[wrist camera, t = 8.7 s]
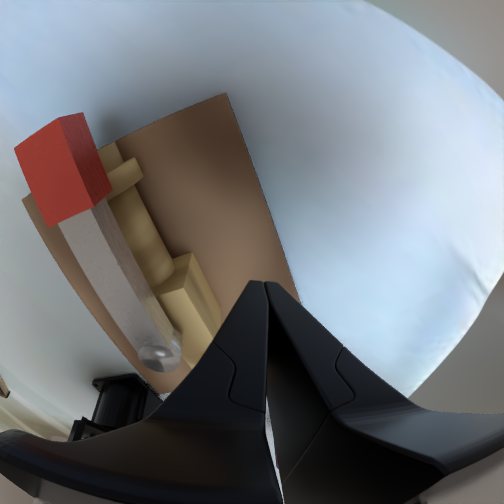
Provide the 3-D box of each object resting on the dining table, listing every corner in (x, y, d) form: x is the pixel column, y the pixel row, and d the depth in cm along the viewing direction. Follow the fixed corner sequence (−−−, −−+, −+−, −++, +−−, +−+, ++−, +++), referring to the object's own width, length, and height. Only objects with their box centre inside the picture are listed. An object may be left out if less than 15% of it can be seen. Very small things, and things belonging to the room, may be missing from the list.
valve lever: (193, 345, 18) (189, 373, 16) (153, 352, 18) (147, 378, 16) (82, 112, 11) (57, 117, 9) (40, 138, 11) (13, 148, 9)
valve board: (161, 382, 29) (152, 432, 23) (32, 192, 18) (-17, 228, 13) (314, 346, 27) (328, 401, 21) (225, 93, 16) (220, 91, 11)
